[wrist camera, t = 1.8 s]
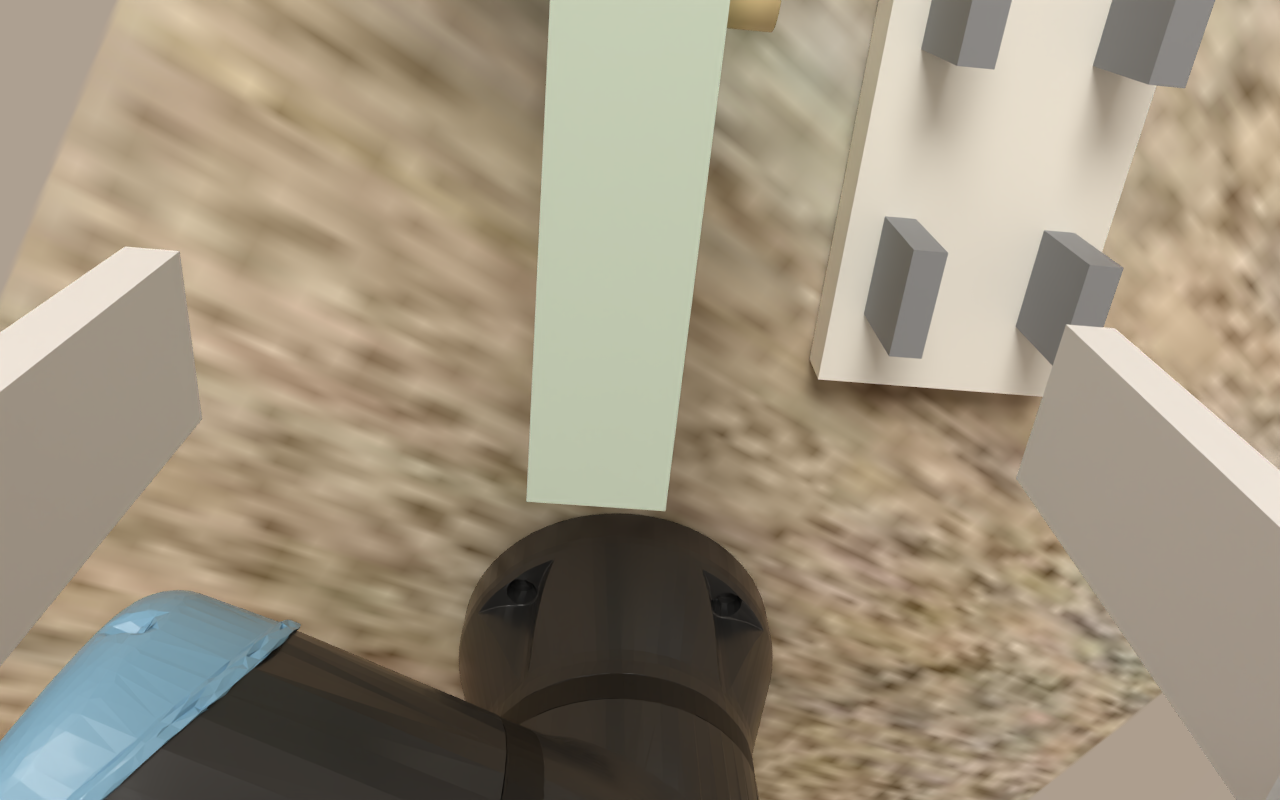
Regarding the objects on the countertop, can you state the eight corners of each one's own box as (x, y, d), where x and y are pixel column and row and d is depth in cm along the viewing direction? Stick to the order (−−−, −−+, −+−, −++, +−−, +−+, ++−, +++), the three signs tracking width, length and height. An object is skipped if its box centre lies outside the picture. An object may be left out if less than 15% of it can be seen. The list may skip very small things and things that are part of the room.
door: (684, 281, 39) (724, 515, 24) (563, 271, 39) (526, 501, 24) (730, -101, 33) (824, -109, 18) (586, -116, 33) (556, -137, 17)
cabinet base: (1035, 376, 41) (1096, 445, 36) (809, 358, 41) (837, 426, 36) (1201, -151, 32) (1316, -163, 27) (914, -184, 32) (973, -202, 26)
